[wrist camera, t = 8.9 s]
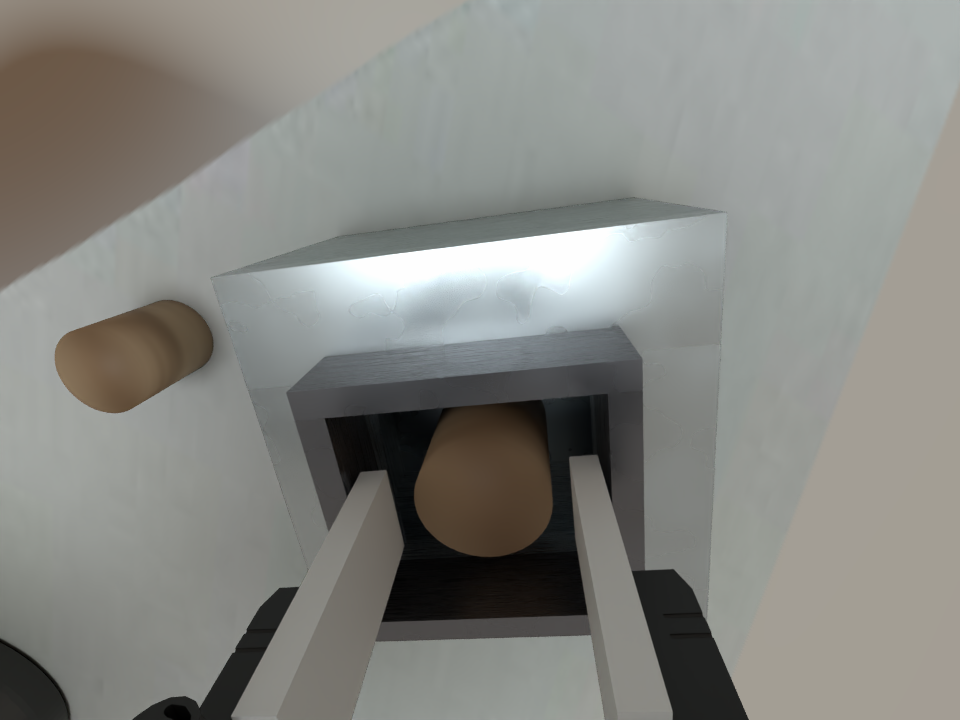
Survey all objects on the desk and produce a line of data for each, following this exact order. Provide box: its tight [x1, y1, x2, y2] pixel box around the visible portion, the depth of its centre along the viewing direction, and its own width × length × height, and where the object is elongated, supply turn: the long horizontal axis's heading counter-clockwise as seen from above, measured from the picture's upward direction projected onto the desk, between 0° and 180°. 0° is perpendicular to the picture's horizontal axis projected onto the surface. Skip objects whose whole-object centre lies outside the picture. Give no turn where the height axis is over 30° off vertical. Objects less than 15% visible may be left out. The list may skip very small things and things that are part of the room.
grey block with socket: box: [211, 197, 727, 641], centre depth 18 cm, size 14×14×12 cm
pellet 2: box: [414, 400, 553, 557], centre depth 16 cm, size 4×4×5 cm
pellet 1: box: [55, 300, 213, 413], centre depth 23 cm, size 4×4×5 cm
